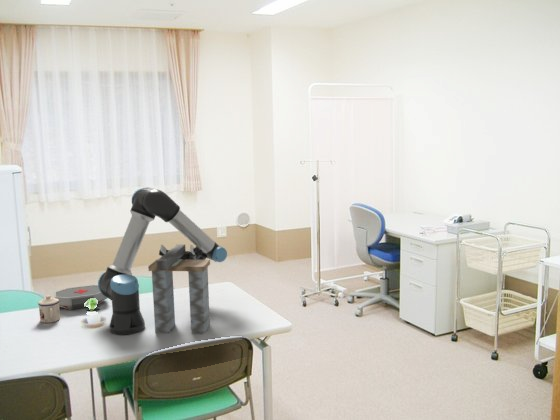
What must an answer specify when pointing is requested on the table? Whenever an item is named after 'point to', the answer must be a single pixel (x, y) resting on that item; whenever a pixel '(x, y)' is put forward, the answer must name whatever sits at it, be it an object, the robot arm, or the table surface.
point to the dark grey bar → (170, 257)
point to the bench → (165, 295)
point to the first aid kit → (78, 296)
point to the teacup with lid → (49, 309)
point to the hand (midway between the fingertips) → (176, 247)
